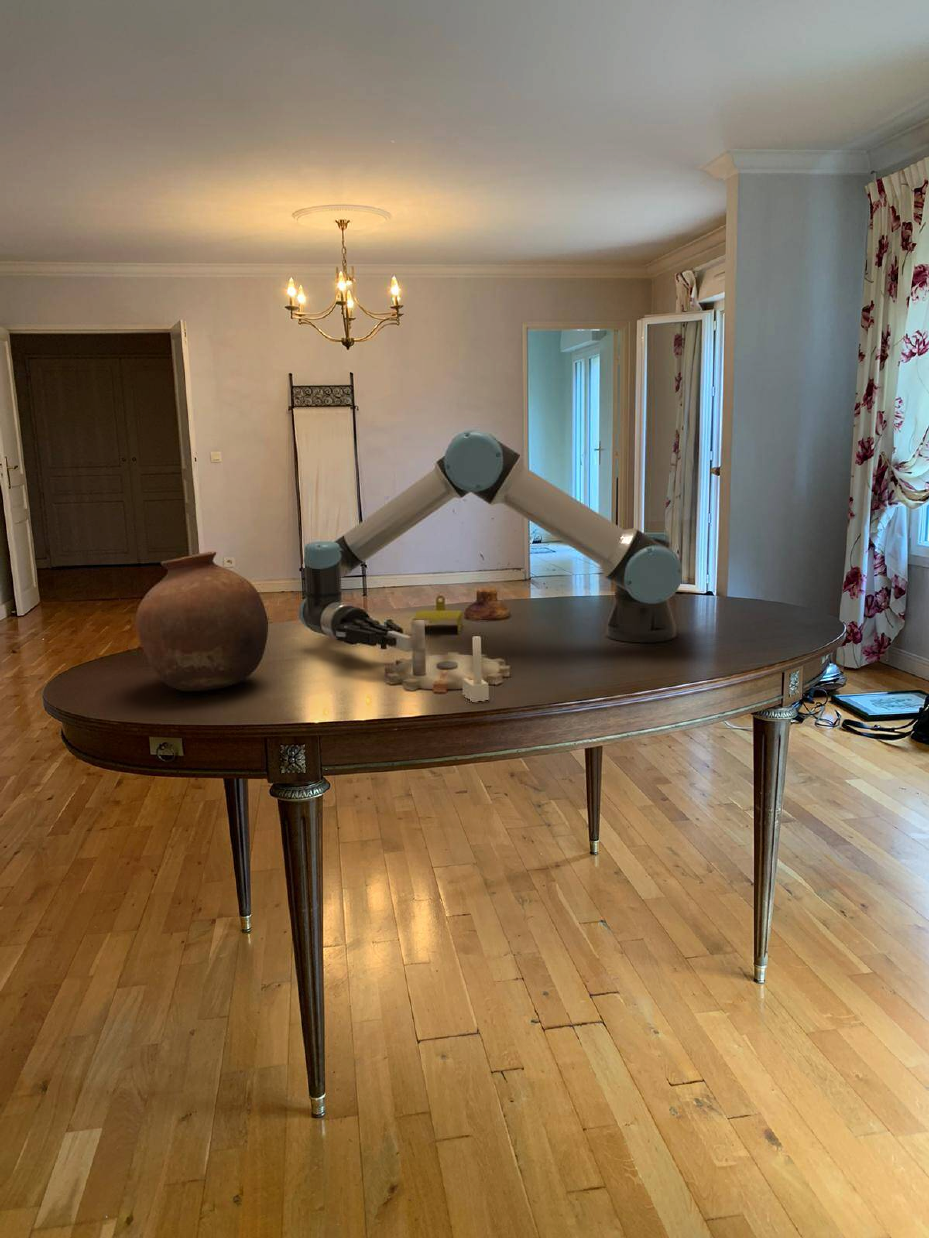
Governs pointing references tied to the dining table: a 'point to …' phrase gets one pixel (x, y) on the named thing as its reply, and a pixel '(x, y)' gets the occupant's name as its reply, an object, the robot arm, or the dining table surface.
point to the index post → (476, 677)
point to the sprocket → (440, 667)
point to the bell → (487, 607)
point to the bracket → (440, 614)
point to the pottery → (202, 625)
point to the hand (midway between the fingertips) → (408, 644)
